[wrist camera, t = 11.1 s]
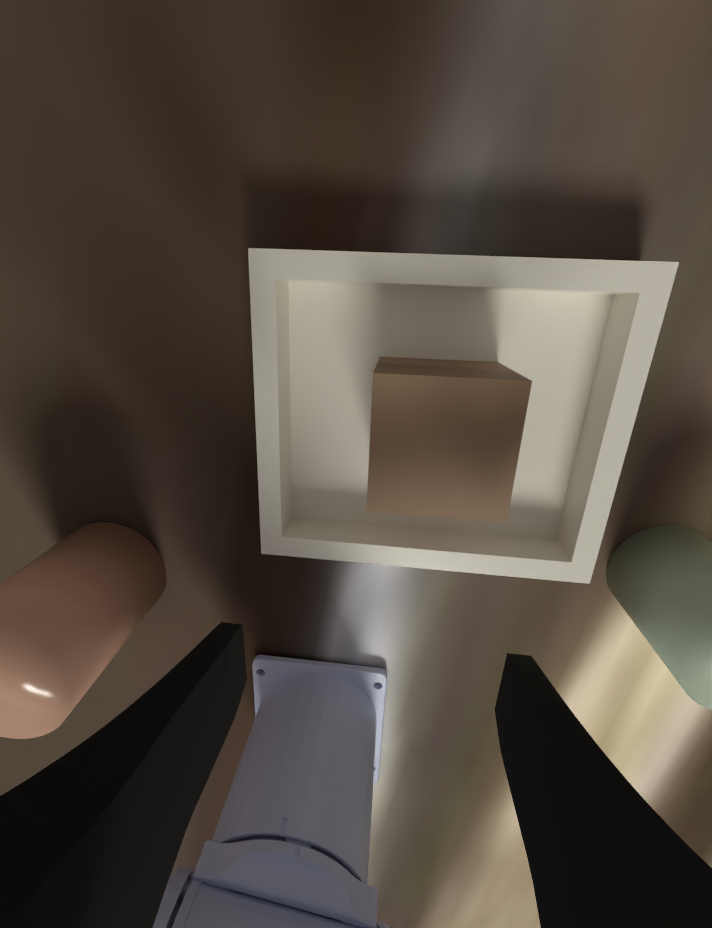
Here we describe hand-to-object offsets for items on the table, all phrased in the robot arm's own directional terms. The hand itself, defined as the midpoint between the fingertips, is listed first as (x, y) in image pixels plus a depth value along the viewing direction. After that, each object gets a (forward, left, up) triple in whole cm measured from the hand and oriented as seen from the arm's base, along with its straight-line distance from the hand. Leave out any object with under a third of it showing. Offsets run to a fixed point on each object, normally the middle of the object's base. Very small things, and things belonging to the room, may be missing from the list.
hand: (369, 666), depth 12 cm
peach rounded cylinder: (-5, +15, -10) cm, 19 cm away
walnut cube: (+5, -2, -10) cm, 11 cm away
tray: (+5, -2, -10) cm, 12 cm away
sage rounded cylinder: (-2, -14, -11) cm, 18 cm away
